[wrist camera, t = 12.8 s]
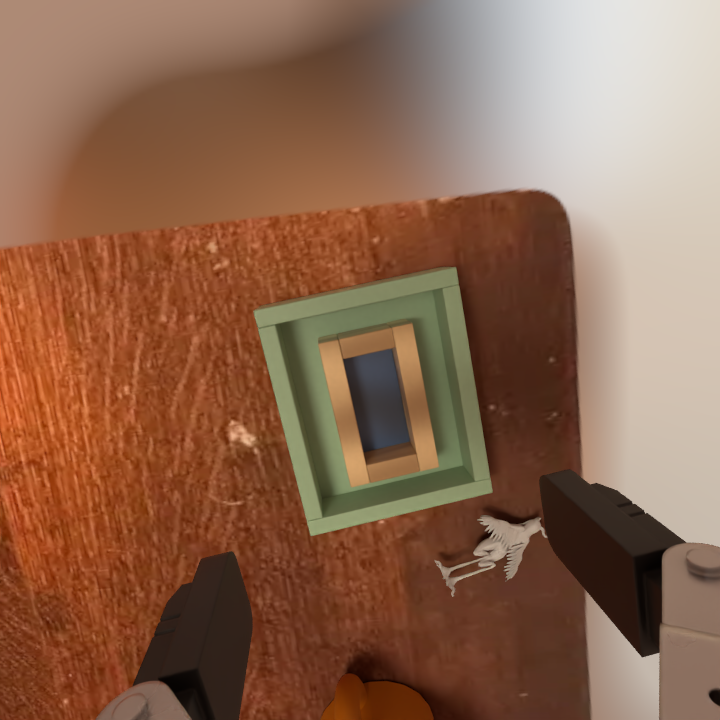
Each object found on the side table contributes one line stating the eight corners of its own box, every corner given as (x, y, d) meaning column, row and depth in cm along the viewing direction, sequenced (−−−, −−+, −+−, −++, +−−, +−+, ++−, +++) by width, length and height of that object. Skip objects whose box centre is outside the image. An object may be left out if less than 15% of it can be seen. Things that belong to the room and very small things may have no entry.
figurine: (452, 599, 34) (544, 545, 35) (465, 621, 32) (563, 563, 33) (421, 539, 32) (520, 482, 33) (433, 558, 30) (538, 498, 31)
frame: (317, 337, 29) (317, 343, 27) (404, 318, 30) (412, 322, 27) (348, 471, 31) (350, 488, 29) (430, 452, 31) (439, 467, 29)
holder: (259, 305, 29) (253, 310, 26) (442, 266, 30) (456, 266, 27) (311, 510, 32) (310, 536, 29) (476, 471, 33) (493, 492, 30)
